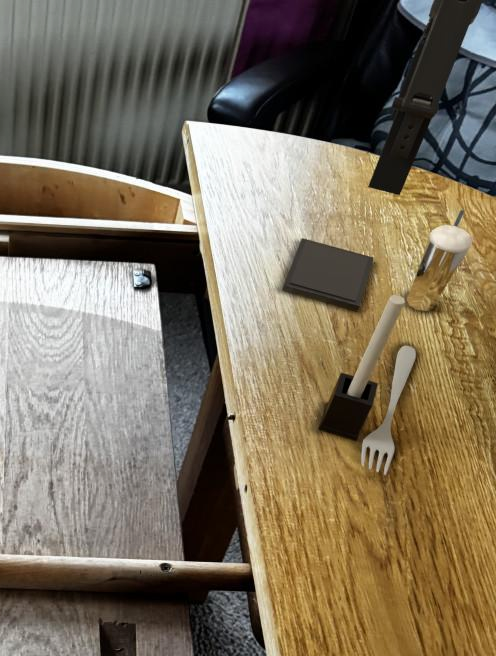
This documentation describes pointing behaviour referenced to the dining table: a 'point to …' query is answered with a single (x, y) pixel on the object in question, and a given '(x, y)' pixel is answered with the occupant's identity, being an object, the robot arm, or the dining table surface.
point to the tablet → (328, 274)
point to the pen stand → (347, 409)
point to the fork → (389, 412)
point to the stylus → (376, 345)
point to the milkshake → (438, 264)
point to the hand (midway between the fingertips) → (394, 154)
